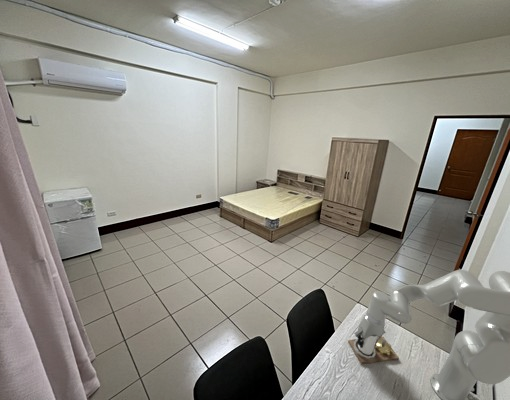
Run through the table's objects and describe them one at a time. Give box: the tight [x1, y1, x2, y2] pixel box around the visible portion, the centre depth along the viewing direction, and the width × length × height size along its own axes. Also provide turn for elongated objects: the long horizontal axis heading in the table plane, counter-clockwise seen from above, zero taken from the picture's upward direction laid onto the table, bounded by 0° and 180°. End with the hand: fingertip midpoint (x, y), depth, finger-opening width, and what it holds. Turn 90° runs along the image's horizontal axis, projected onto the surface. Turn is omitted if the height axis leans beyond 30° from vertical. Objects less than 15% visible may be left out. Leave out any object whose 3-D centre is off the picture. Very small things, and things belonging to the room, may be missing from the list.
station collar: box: [353, 338, 376, 360], centre depth 106 cm, size 10×10×1 cm
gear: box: [374, 338, 394, 357], centre depth 107 cm, size 9×9×4 cm
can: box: [358, 335, 377, 355], centre depth 103 cm, size 6×6×12 cm
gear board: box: [348, 336, 400, 365], centre depth 107 cm, size 20×11×2 cm, turn 99°
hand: (366, 344), depth 104 cm, fingers closed on can, 6 cm apart
